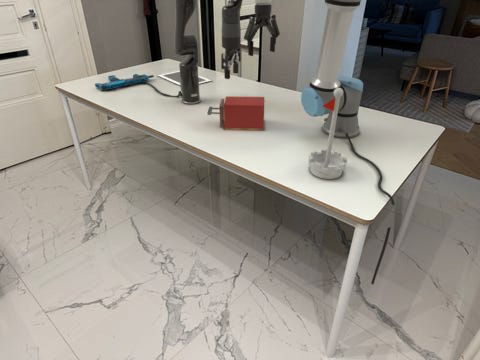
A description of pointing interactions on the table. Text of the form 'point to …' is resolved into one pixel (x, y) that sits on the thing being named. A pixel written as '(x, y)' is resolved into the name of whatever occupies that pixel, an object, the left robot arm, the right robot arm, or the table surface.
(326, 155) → the flag stand
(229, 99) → the cabinet
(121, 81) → the submachine gun
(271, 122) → the table surface
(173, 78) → the tablet
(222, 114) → the drawer
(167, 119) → the table surface
